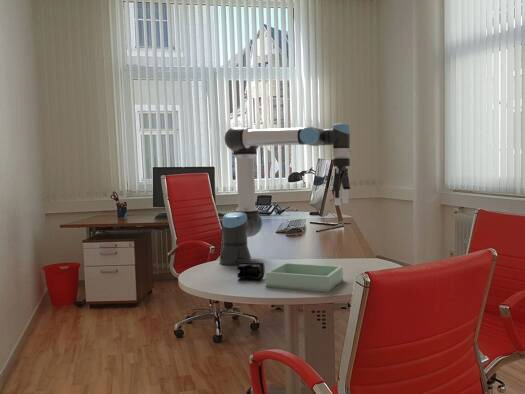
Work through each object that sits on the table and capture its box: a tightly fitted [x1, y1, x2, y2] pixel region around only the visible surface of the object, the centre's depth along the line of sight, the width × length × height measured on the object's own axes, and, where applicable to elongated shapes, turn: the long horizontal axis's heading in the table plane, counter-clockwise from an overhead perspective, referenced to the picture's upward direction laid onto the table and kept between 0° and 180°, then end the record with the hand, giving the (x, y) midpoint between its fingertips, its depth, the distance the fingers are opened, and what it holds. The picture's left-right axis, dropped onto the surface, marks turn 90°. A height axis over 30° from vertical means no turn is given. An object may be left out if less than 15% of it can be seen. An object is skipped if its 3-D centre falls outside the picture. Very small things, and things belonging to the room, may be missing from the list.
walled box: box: [265, 262, 344, 293], centre depth 195 cm, size 24×20×6 cm
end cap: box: [236, 262, 266, 283], centre depth 204 cm, size 10×7×7 cm
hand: (341, 204), depth 232 cm, fingers open, 13 cm apart
